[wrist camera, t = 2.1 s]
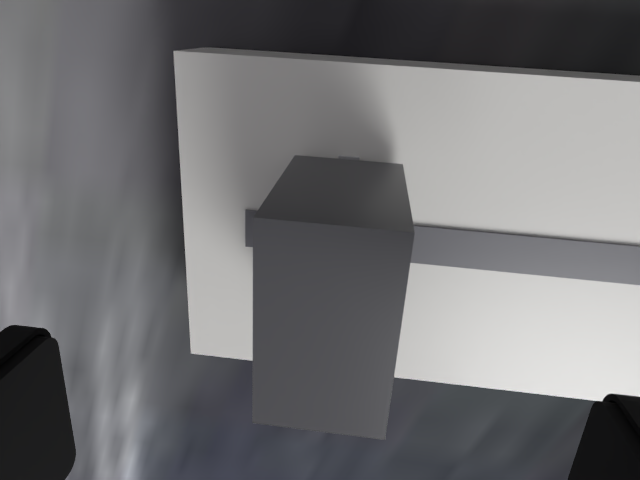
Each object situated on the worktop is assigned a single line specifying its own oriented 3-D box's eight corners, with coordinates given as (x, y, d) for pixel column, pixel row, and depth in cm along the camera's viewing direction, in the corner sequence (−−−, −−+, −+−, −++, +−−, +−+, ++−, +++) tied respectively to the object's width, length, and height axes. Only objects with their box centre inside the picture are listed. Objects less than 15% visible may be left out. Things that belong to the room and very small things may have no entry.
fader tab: (294, 155, 14) (253, 216, 9) (402, 164, 14) (415, 232, 9) (289, 309, 16) (252, 422, 11) (383, 319, 16) (384, 440, 11)
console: (208, 46, 16) (172, 50, 13) (1093, 105, 14) (1272, 124, 11) (216, 309, 20) (190, 355, 17) (907, 384, 18) (1006, 450, 15)
